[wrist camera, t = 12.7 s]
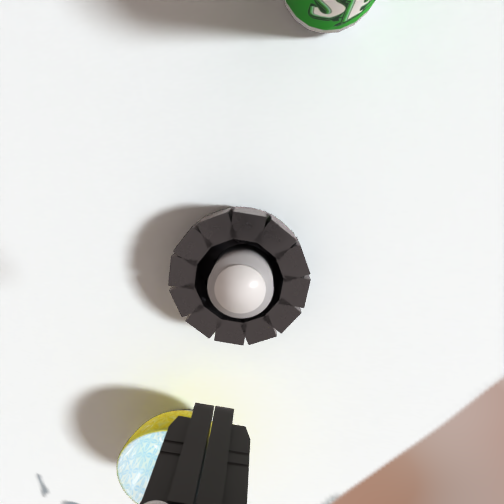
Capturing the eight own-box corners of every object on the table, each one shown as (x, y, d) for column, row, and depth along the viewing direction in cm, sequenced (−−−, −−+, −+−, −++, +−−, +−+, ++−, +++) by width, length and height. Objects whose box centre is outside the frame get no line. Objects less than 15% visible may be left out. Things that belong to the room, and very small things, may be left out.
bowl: (228, 472, 37) (221, 530, 32) (135, 452, 37) (110, 507, 31) (248, 396, 34) (245, 445, 28) (147, 374, 34) (122, 418, 28)
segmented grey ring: (187, 197, 29) (176, 201, 25) (315, 218, 29) (322, 226, 25) (175, 313, 32) (164, 332, 28) (290, 332, 32) (293, 353, 28)
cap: (217, 240, 29) (209, 253, 25) (276, 247, 29) (278, 262, 24) (212, 294, 30) (203, 316, 26) (268, 301, 30) (268, 324, 26)
